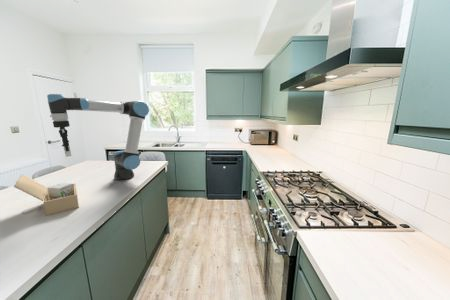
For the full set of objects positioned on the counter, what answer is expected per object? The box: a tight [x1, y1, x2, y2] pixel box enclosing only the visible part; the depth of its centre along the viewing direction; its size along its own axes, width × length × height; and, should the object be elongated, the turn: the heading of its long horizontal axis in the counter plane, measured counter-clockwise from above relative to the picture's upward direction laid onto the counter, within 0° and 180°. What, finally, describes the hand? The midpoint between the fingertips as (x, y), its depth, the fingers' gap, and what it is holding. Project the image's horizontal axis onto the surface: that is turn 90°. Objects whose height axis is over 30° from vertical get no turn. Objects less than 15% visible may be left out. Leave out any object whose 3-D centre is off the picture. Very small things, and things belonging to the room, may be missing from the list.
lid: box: [13, 174, 48, 202], centre depth 107 cm, size 14×22×1 cm
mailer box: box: [42, 183, 80, 216], centre depth 116 cm, size 14×23×8 cm, turn 39°
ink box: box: [46, 182, 74, 200], centre depth 116 cm, size 9×8×12 cm
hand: (68, 154), depth 121 cm, fingers open, 13 cm apart
